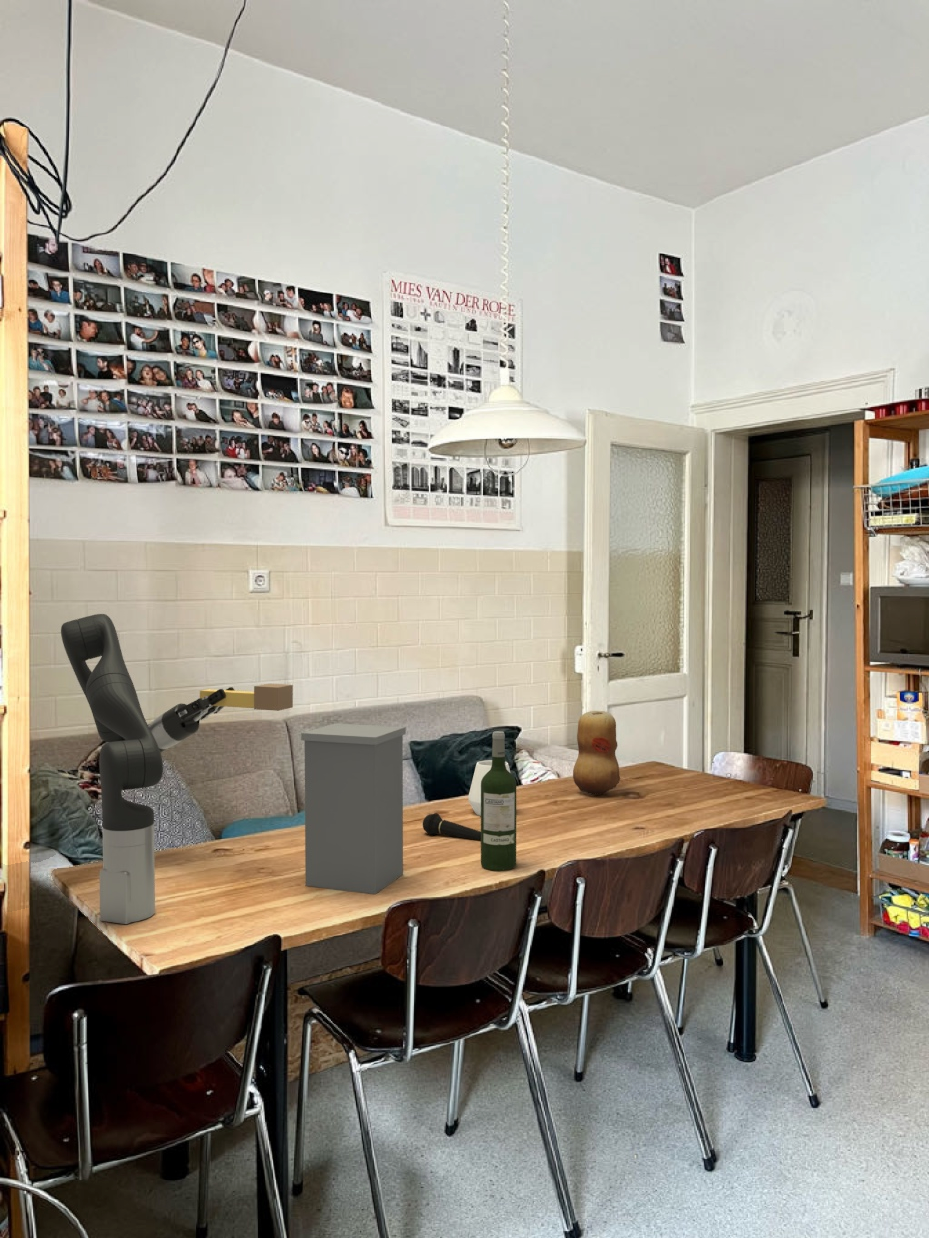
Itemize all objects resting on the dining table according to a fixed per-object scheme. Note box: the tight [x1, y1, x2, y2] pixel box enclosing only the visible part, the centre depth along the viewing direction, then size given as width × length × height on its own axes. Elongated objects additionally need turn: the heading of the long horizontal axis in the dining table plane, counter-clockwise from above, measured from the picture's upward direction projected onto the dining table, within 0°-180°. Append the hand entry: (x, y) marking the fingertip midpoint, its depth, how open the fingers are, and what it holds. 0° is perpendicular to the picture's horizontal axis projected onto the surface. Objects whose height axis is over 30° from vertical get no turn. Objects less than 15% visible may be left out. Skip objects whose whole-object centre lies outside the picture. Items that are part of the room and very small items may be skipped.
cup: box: [467, 759, 511, 817], centre depth 261 cm, size 13×13×14 cm
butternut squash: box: [572, 710, 621, 796], centre depth 284 cm, size 14×13×25 cm
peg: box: [199, 683, 294, 712], centre depth 209 cm, size 21×6×5 cm, turn 70°
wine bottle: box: [480, 730, 517, 872], centre depth 211 cm, size 8×8×30 cm
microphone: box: [422, 812, 481, 842], centre depth 235 cm, size 6×6×20 cm
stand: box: [300, 723, 407, 895], centre depth 200 cm, size 17×15×32 cm
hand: (228, 691), depth 210 cm, fingers closed on peg, 3 cm apart
